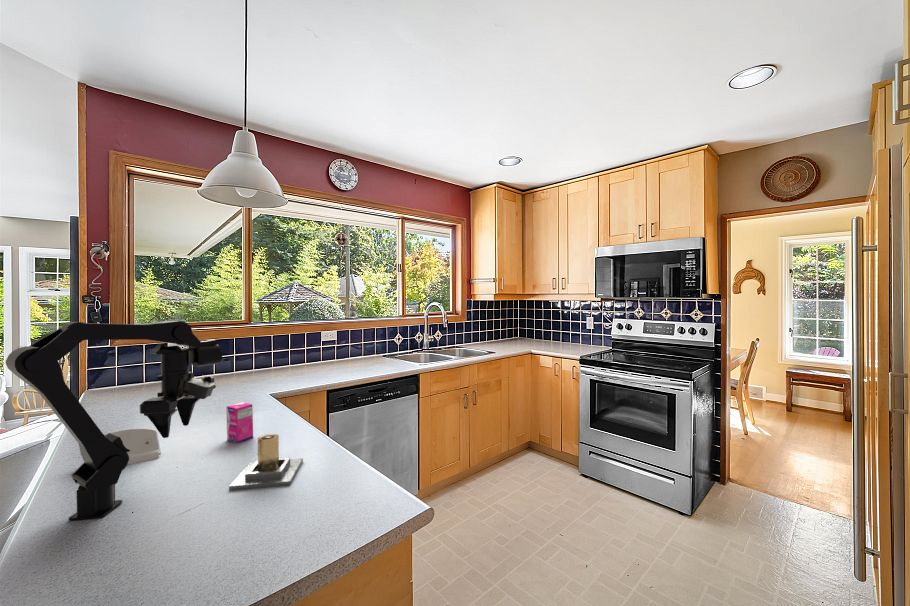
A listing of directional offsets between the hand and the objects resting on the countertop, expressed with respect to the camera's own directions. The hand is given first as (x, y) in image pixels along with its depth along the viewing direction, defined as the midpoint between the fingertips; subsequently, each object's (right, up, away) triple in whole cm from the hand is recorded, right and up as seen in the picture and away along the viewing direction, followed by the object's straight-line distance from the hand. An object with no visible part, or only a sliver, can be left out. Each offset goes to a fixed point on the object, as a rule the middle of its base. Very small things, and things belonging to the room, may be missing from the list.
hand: (176, 431), depth 98 cm
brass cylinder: (+22, -12, +4) cm, 25 cm away
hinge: (-25, -14, +14) cm, 32 cm away
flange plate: (+22, -13, +4) cm, 26 cm away
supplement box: (-1, -13, +30) cm, 33 cm away
